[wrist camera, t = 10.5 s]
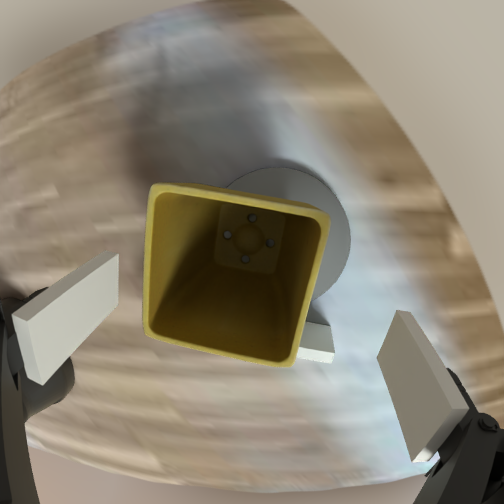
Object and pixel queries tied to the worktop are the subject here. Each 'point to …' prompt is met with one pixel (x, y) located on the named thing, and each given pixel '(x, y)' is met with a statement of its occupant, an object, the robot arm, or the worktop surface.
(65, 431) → the worktop surface
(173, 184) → the flower pot
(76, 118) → the worktop surface
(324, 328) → the wall
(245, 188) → the coaster
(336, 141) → the worktop surface
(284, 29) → the worktop surface
